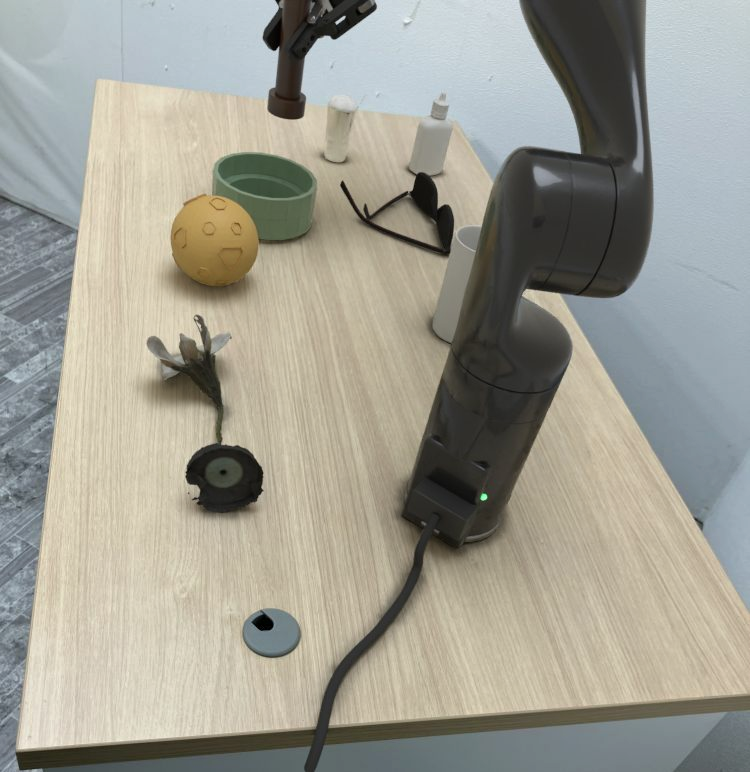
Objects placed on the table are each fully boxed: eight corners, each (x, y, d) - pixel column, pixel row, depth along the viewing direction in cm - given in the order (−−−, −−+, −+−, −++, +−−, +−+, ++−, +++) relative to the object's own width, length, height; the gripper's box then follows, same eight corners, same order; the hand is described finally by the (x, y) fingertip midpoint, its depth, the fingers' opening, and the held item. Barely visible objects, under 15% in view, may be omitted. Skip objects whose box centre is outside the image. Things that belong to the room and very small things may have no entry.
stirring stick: (289, 123, 94) (304, -14, 84) (259, 108, 95) (271, -27, 85) (311, 114, 97) (328, -18, 87) (282, 101, 98) (296, -32, 88)
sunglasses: (327, 192, 117) (332, 158, 113) (419, 197, 122) (427, 165, 118) (357, 253, 106) (364, 218, 103) (457, 256, 111) (467, 222, 107)
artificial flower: (169, 526, 70) (134, 433, 63) (171, 387, 86) (144, 302, 80) (271, 505, 70) (247, 411, 64) (253, 371, 87) (233, 286, 80)
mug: (486, 351, 96) (518, 260, 87) (431, 343, 95) (458, 250, 86) (478, 305, 103) (506, 217, 94) (426, 297, 102) (451, 207, 93)
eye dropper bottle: (406, 162, 130) (423, 84, 121) (440, 168, 131) (459, 90, 122) (409, 174, 127) (427, 94, 118) (443, 180, 128) (463, 101, 119)
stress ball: (191, 249, 99) (194, 169, 92) (266, 273, 99) (275, 195, 92) (154, 286, 92) (154, 203, 85) (235, 313, 91) (241, 231, 84)
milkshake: (353, 167, 124) (365, 100, 117) (319, 161, 124) (329, 93, 117) (354, 155, 128) (366, 89, 121) (321, 149, 127) (330, 82, 120)
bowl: (270, 255, 102) (274, 210, 97) (190, 213, 105) (191, 168, 101) (329, 224, 110) (336, 181, 106) (254, 186, 114) (258, 143, 110)
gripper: (314, -129, 88) (220, 4, 89) (409, -89, 83) (307, 52, 84) (341, -72, 95) (253, 50, 96) (429, -32, 89) (335, 97, 91)
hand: (279, 50), depth 90 cm, fingers closed on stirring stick, 3 cm apart
